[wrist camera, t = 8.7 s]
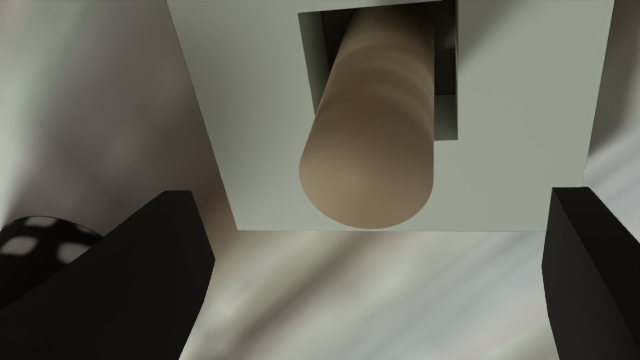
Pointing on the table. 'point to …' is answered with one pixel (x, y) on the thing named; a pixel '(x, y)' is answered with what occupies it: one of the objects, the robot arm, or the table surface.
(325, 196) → the peg
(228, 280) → the table surface
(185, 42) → the wick holder
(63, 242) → the spotted tube
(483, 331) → the table surface
